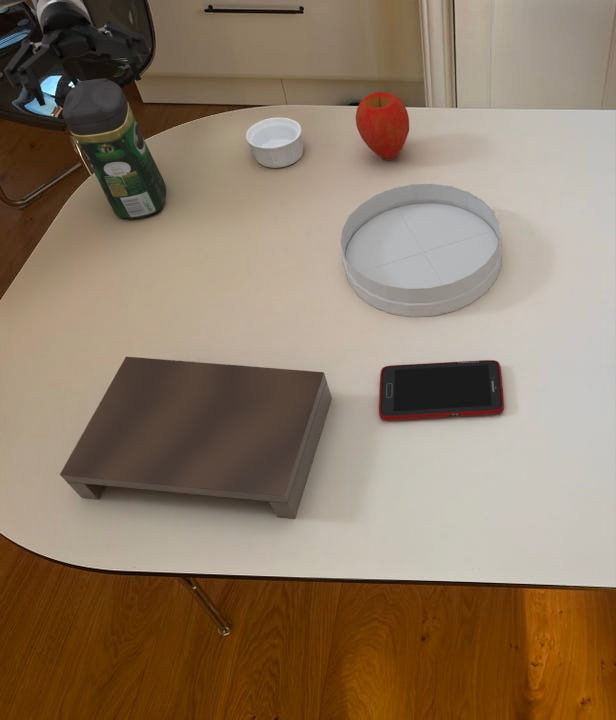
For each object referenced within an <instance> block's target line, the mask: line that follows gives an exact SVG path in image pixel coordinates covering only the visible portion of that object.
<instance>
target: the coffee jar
mask: <svg viewBox="0 0 616 720" xmlns="http://www.w3.org/2000/svg"><path fill="white" fill-rule="evenodd" d="M61 115H62V118H63V119H64V121H65V123H66V125H67V128H68V129H69V131H70V134H71V135H72V136H73V137H74V139H75V140H76V141H77V144H78V145H79V146H80V148H81V151H82V153H83V154H84V156H85V158H86V159H87V161H88V164H89V165H90V167H91V169H92V171H93V173H94V175H95V178H96V179H97V181H98V183H99V185H100V187H101V189H102V191H103V193H104V196H105V198H106V200H107V203H109V206H110V207H111V210H112V212H113V213H114V215H116V217H118V218H121V219H130V220H136V219H142V218H147V217H149V216H152V215H153V214H156V213H158V212H160V211H161V210H162V209H163V207H164V204H165V200H166V196H167V195H166V194H167V188H166V182H165V179H164V178H163V175H162V174H161V172H160V169H159V167H158V165H157V164H156V161H155V159H154V157H153V155H152V153H151V151H150V149H149V147H148V145H147V143H146V141H145V138H144V135H143V134H142V131H141V129H140V128H139V126H138V123H137V120H136V119H135V115H134V114H133V111H132V108H131V106H130V104H129V101H128V98H127V97H126V95H125V93H124V91H123V89H122V88H121V86H120V85H119V84H117V83H115V82H114V81H112V80H109V79H108V78H95V79H94V78H93V79H87V80H82V81H78V82H77V83H76V85H74V86H73V87H72V88H71V89H70V90H69V91H68V93H67V95H66V96H65V100H64V102H63V106H62V112H61Z"/></svg>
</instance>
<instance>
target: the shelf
mask: <svg viewBox="0 0 616 720" xmlns="http://www.w3.org/2000/svg"><path fill="white" fill-rule="evenodd" d="M332 399H333V397H332V393H331V390H330V387H329V384H328V381H327V377H326V374H325V372H324V371H313V370H301V369H289V368H288V369H287V368H277V367H262V366H250V365H239V364H225V363H212V362H201V361H185V360H177V359H176V360H175V359H162V358H150V357H136V356H125V357H124V359H123V361H122V362H121V364H120V366H119V368H118V370H117V372H116V374H115V375H114V377H113V379H112V381H111V382H110V384H109V386H108V388H107V389H106V391H105V393H104V394H103V397H102V399H101V400H100V402H99V403H98V406H97V407H96V409H95V410H94V413H93V414H92V416H91V418H90V420H89V422H88V423H87V425H86V427H85V428H84V430H83V432H82V434H81V435H80V438H79V439H78V442H77V443H76V444H75V447H74V448H73V450H72V452H71V454H70V455H69V457H68V458H67V461H66V463H65V464H64V466H63V468H62V470H61V471H60V473H59V475H60V477H61V478H62V479H63V480H64V481H65V482H66V483H67V485H69V486H70V488H72V490H73V491H75V493H76V494H77V495H78V496H79V497H80V498H81V499H89V500H99V499H100V497H101V495H102V494H103V491H104V490H105V487H107V486H108V487H117V488H128V489H138V490H149V491H160V492H161V491H162V492H171V493H181V494H191V495H199V496H200V495H201V496H212V497H220V498H221V497H222V498H223V497H224V498H232V499H242V500H243V499H244V500H254V501H261V502H268V503H269V504H270V506H271V509H272V511H273V512H274V514H275V516H276V517H277V518H283V519H285V518H286V519H296V516H297V514H298V510H299V507H300V503H301V500H302V497H303V493H304V491H305V487H306V483H307V480H308V477H309V474H310V470H311V467H312V464H313V461H314V457H315V454H316V451H317V448H318V444H319V442H320V438H321V434H322V431H323V428H324V425H325V421H326V418H327V415H328V412H329V409H330V406H331V402H332Z"/></svg>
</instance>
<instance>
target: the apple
mask: <svg viewBox="0 0 616 720" xmlns="http://www.w3.org/2000/svg"><path fill="white" fill-rule="evenodd" d="M355 112H356V113H355V125H356V126H355V127H356V128H357V130H358V133H359V136H360V137H361V140H362V141H363V142H364V144H365V145H366V146H367V147H368V149H370V150H371V151H372V152H373V153H374V154H375V155H377V156H378V157H379V158H381V159H382V160H385V161H387V160H394V159H396V158H397V156H398V155H399V153H400V152H401V151H402V149H403V147H404V146H405V143H406V141H407V138H408V135H409V132H410V117H409V113H408V110H407V107H406V106H405V103H404V102H403V101H402V100H401V98H400V97H398V96H397V95H396V94H393V93H390V92H383V91H377V92H372V93H369V94H368V95H366V96H364V98H362V100H361V101H360V102H359V104H358V106H357V108H356V111H355Z"/></svg>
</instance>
